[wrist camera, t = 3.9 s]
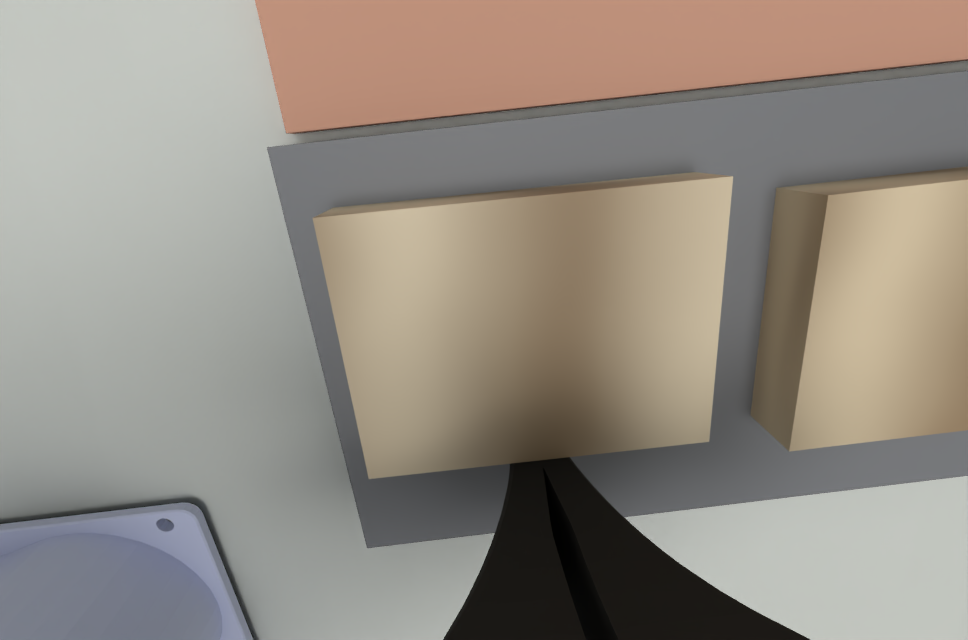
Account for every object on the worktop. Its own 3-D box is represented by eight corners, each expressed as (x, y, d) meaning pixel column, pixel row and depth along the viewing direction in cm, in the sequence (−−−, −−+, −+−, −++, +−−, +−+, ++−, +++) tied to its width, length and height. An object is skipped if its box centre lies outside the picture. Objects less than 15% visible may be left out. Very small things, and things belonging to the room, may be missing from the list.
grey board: (378, 499, 16) (366, 548, 14) (297, 146, 12) (266, 146, 10) (971, 428, 16) (1040, 467, 14) (1085, 60, 12) (1202, 44, 10)
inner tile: (379, 438, 12) (368, 479, 11) (333, 207, 10) (312, 217, 9) (679, 406, 13) (708, 441, 11) (693, 172, 10) (733, 176, 9)
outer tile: (750, 415, 13) (789, 451, 11) (776, 187, 11) (828, 195, 9) (1038, 381, 13) (1115, 412, 11) (1121, 149, 11) (1228, 150, 9)
